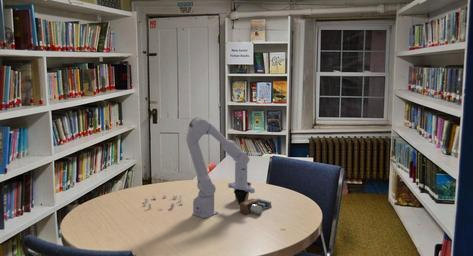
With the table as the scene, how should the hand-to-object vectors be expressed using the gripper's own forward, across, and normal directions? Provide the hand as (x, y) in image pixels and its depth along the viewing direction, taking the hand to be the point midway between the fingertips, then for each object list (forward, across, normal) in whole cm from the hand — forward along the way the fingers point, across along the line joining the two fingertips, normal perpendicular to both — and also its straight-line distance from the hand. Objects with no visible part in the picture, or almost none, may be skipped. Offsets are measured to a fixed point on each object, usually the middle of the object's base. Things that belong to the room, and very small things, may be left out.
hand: (241, 205), depth 204 cm
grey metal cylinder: (0, -6, 0) cm, 6 cm away
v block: (+2, -5, -9) cm, 10 cm away
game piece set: (+3, +34, +18) cm, 39 cm away
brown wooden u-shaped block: (+2, -5, 0) cm, 5 cm away
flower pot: (+2, +8, -10) cm, 14 cm away
